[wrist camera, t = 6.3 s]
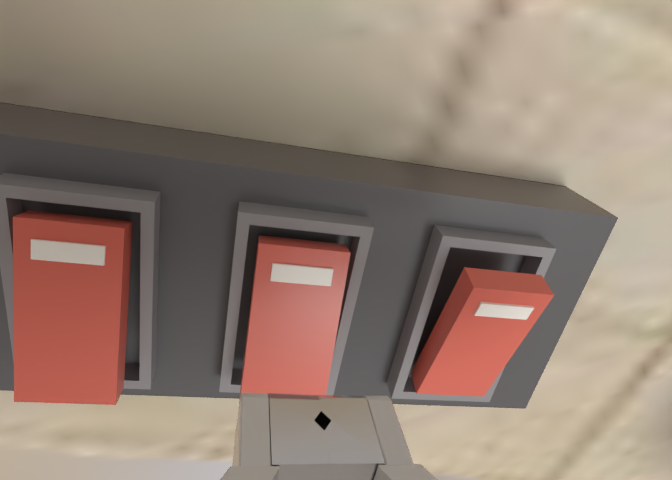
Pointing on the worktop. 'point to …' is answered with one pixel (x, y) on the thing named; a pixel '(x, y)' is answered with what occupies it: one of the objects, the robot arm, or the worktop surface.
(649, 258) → the worktop surface
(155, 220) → the rocker switch panel
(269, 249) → the rocker
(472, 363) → the rocker
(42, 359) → the rocker
